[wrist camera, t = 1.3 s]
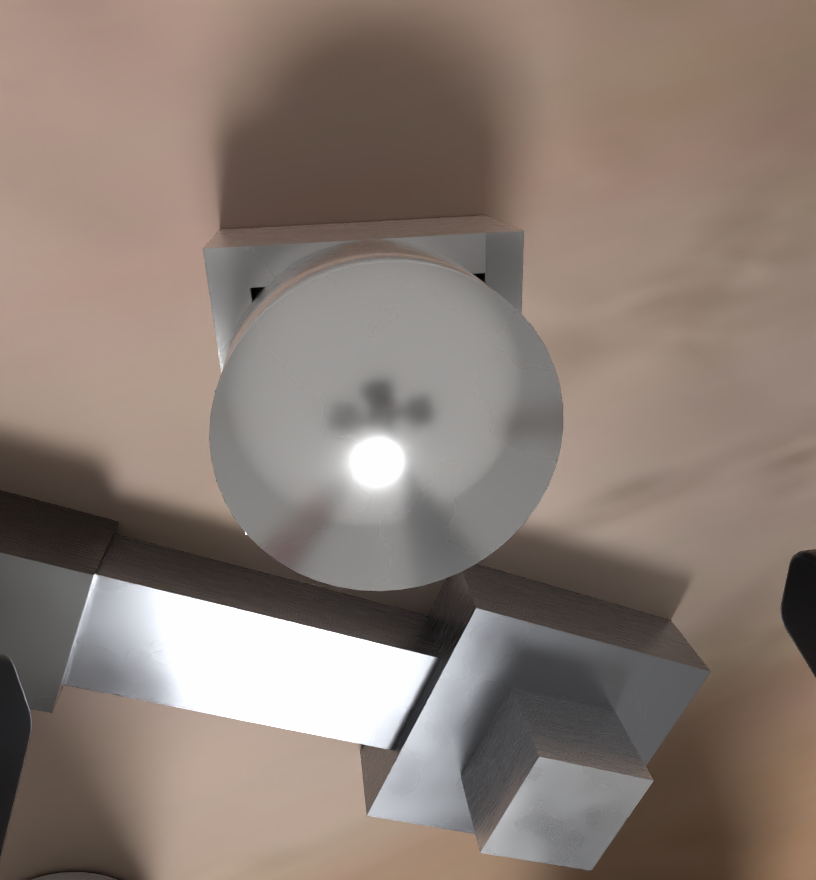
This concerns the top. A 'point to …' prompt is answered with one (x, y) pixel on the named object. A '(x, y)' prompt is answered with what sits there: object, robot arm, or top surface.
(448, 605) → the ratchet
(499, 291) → the grey square-based fixture
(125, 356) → the top surface
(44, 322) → the top surface
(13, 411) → the top surface
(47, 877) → the lotion bottle
